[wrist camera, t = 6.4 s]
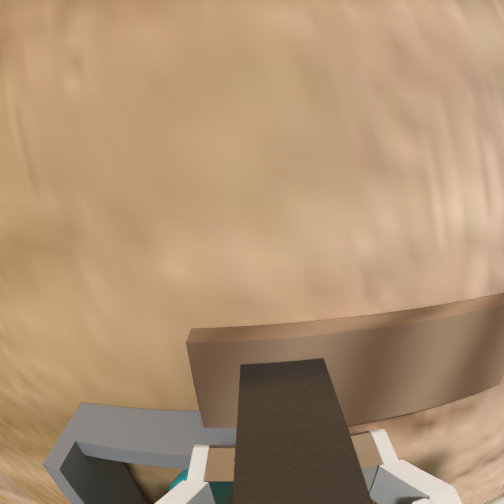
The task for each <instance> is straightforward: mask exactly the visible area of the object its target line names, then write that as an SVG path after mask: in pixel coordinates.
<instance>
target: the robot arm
mask: <svg viewBox="0 0 504 504" xmlns="http://www.w3.org/2000/svg"><path fill="white" fill-rule="evenodd" d="M350 436H351V439H352V442H353V445H354V448H355V451H356V454H357V457H358V460H359V463H360V466H361V469H362V472H363V475H364V478H365V482H366V485H367V488H368V491H369V494H370V497H371V498H372V499H373V500H374V501H375V502H376V503H378V504H462V502H461V500H460V498H459V496H458V494H457V492H456V490H455V488H454V487H453V486H451V485H449V484H447V483H445V482H443V481H442V480H440V479H438V478H436V477H434V476H432V475H430V474H428V473H426V472H425V471H423V470H421V469H419V468H417V467H415V466H414V465H412V464H410V463H408V462H407V461H405V460H399V459H398V457H397V455H396V452H395V450H394V448H393V446H392V444H391V442H390V439H389V437H388V435H387V433H386V431H385V429H383V428H381V429H376V430H371V431H366V432H361V433H355V434H350ZM235 448H236V445H195V446H194V448H193V451H192V456H191V461H190V466H189V471H188V476H187V481H184V480H182V481H181V482H180V483H179V484H178V485H176V486H175V487H174V488H173V489H172V490H170V491H169V492H168V493H167V494H166V495H164V496H163V497H162V498H161V499H160V500H158V501H157V502H156V503H155V504H232V499H233V482H234V465H235ZM0 504H4V503H2V502H0ZM486 504H504V494H502V495H500V496H499V497H497V498H495V499H493V500H491V501H489V502H487V503H486Z"/></svg>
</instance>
